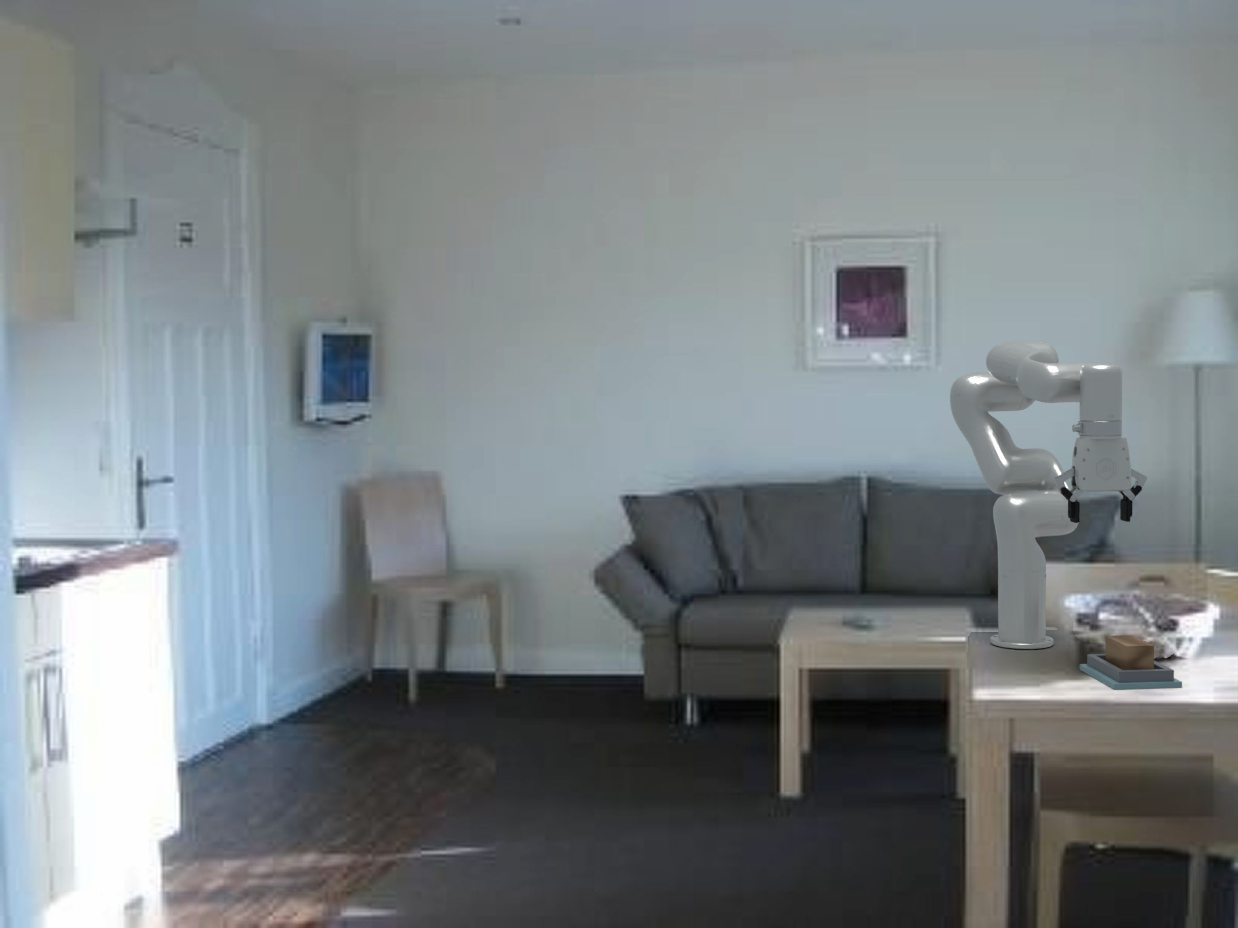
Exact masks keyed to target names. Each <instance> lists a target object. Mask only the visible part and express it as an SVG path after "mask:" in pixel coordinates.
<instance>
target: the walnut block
mask: <svg viewBox="0 0 1238 928" xmlns="http://www.w3.org/2000/svg"><path fill="white" fill-rule="evenodd" d="M1104 651H1105V653H1104V654H1105V661H1107V662H1109V663H1111V664H1112V665H1114V666H1116V667H1118V668H1120V669H1122V670H1150V669H1154V661H1155V660H1154V645H1152V644H1150V643H1148V642H1146V641H1143V640H1141V639H1140V637H1136V636H1134V635H1132V634H1130V635H1129V634H1127V635H1126V634H1125V635H1123V634H1122V635H1105V650H1104Z"/></svg>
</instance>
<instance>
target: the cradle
mask: <svg viewBox="0 0 1238 928" xmlns="http://www.w3.org/2000/svg"><path fill="white" fill-rule="evenodd" d="M1086 655H1087V656H1086V659H1087V660H1086V663H1080V664H1079V670H1080V671H1081V672H1083V673H1085V674H1087V675H1089V676H1090V677H1092V678H1093V679H1095V680H1097V681H1098V682H1100V683H1102V684H1104V685H1105V686H1107V687H1109V688H1111V689H1112V690H1142V689H1146V690H1147V689H1171V688H1172V689H1173V688H1175V689H1177V688H1179V689H1180V688H1183V681H1181V680H1179V679H1177V678H1175V670H1174V669H1172V668H1170V667H1168V666H1166V665H1164V664H1162V663H1161V662H1159V661H1157V660H1154V669H1150V670H1122V669H1120V668H1118V667H1116V666H1114V665H1112V664H1111V663H1109V662H1107V661H1105V653H1093V654H1092V653H1090V654H1089V653H1088V654H1086Z"/></svg>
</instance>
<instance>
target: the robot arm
mask: <svg viewBox="0 0 1238 928" xmlns="http://www.w3.org/2000/svg"><path fill="white" fill-rule="evenodd" d="M985 365H986V369H987V371H982V372H981V371H980V372H970V373H967V374H964V375H961V376H959V377H958V378H956V379H955V380H954V381H953V383H952V385H951V387H950V392H949V402H950V405H949V406H950V410H951V414H952V417H953V420H954V422H955V424H956V426H957V427H958V430H959V431H960V433H962V435H963V437H964V438H965V440H966V442H968V444H969V447H970V448H971V450H972V453H973V456H974V459H975V460H976V463H977V466H978V468H979V470H980V472H981V475H982V477H983V479H984V482H985V484H986V485H987V488H988V489H990V491H991V492H993V493H994V494H997V495H1000V496H999V497H998V498H997V499H996V501H994V505H993V507H992V516H993V523H994V528H995V536H996V542H997V571H998V572H997V577H998V578H997V591H998V592H997V597H998V598H997V624H998V625H997V629H998V630H997V633H996V634H993V635H991V636H990V644H991V645H994V646H997V647H1002V648H1007V649H1015V650H1016V649H1017V650H1037V649H1045V648H1049V647H1052V646H1053V645H1054V638H1053V637H1051V636H1049V635H1047V633H1046V631H1047V630H1046V629H1047V628H1046V627H1047V623H1046V622H1047V620H1046V619H1047V618H1046V617H1047V614H1046V612H1047V610H1046V609H1047V601H1046V600H1047V597H1046V596H1047V561H1046V560H1047V559H1046V556H1045V553H1044V551H1043V550H1042V548H1041V546H1040V545H1039V543H1038V542H1037V540H1036V538H1040V537H1056V536H1058V537H1059V536H1066V535H1068V534H1071V533H1073V532H1074V531H1075V530H1076V529H1077V527H1078V525H1079V523H1080V516H1081V515H1080V508H1081V507H1080V505H1081V503H1080V502H1079V501H1078V499H1079V497H1081V495H1082V494H1083V493H1084V492H1087V493H1089V492H1090V493H1091V492H1092V493H1093V492H1095V493H1096V492H1097V493H1098V492H1102V493H1103V492H1118V493H1119V494H1120V495H1121V497H1122V499H1120V504H1119V505H1120V506H1119V509H1120V512H1119V514H1120V515H1119V517H1120V518H1119V519H1120V521H1123V522H1126V523H1129V522H1130V523H1131V517H1133V501H1134V500H1135V499H1136V497H1137V496H1138V495H1139V494H1140V493H1141V492H1142V490H1143V487H1144V486H1145V483H1146V482H1147V479H1148V477H1147V476H1146V475H1145V474H1143V473H1140V472H1138V471H1137V470H1135V469H1132V467H1131V465H1132V464H1131V458H1130V450H1129V444H1128V439H1127V437H1123V436H1122V434H1123V432H1122V431H1123V422H1122V421H1123V418H1122V417H1123V370H1122V368H1121V366H1119V365H1118V364H1115V363H1113V364H1112V363H1098V362H1097V363H1095V362H1059V355H1058V353H1057V350H1056V349H1055V348H1054V346H1053V345H1051V344H1050V343H1048V342H1046V341H1044V340H1020V341H1019V340H1014V341H1013V340H1012V341H1004V342H1000V343H998V344H996V345H995V346H993V347H992V348H990V350H989V351H988V353H987V356H986V359H985ZM1036 401H1037V402H1040V403H1045V404H1046V403H1048V404H1058V403H1061V404H1062V403H1079V420H1078V423H1076V424H1072V427H1071V428H1072V429H1071V430H1072V432H1073V433H1077V434H1078V435H1079V437H1076V438H1075V442H1074V447H1073V452H1072V459H1071V468H1070V469H1068V470H1066V471H1064V470H1063V468H1062V465H1061V463H1060V462H1059V460H1058V458H1057V457H1056V456H1055V455H1054V454H1053V453H1052V452H1051V451H1049V450H1048V449H1044V448H1021V447H1018V446H1016V444H1015V442H1014V440H1013V438H1012V436H1011V433H1010V431H1009V430H1008V429H1007V428H1006V426H1005V425H1004V424H1003V423H1002V422H1000V421H999V420H998V419H996V417H994V416H992V415H991V414H990V413H991V412H992V413H993V412H1018V411H1022V410H1026V409H1028V408H1029V407H1030V406H1032V405H1033V404H1034V403H1035V402H1036ZM989 412H990V413H989ZM1132 478H1133V479H1134V480H1135V482H1134V485H1132ZM1069 479H1070V482H1069ZM1070 483H1071V484H1070ZM1131 486H1132V487H1131Z"/></svg>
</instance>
